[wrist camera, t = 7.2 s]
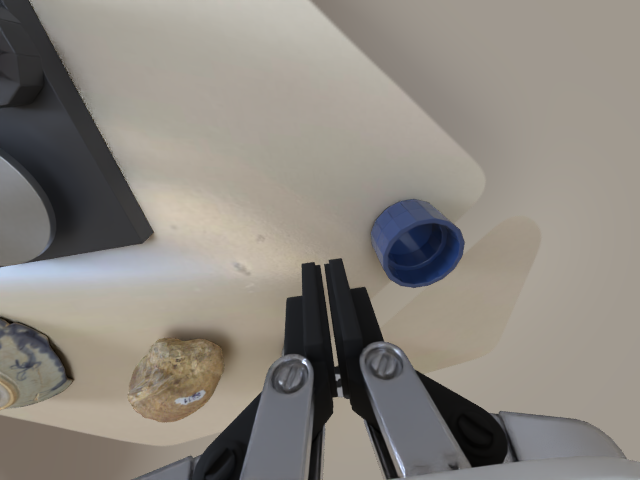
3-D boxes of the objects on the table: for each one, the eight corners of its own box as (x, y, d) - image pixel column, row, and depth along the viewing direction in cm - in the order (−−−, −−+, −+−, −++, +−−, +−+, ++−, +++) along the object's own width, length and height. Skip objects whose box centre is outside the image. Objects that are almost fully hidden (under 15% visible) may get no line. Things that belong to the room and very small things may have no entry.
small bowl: (367, 203, 24) (382, 226, 20) (441, 191, 23) (469, 212, 20) (371, 263, 27) (384, 292, 23) (435, 252, 27) (458, 280, 23)
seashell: (180, 348, 37) (219, 390, 36) (118, 399, 31) (163, 450, 30) (189, 308, 28) (242, 362, 27) (104, 370, 22) (168, 442, 21)
